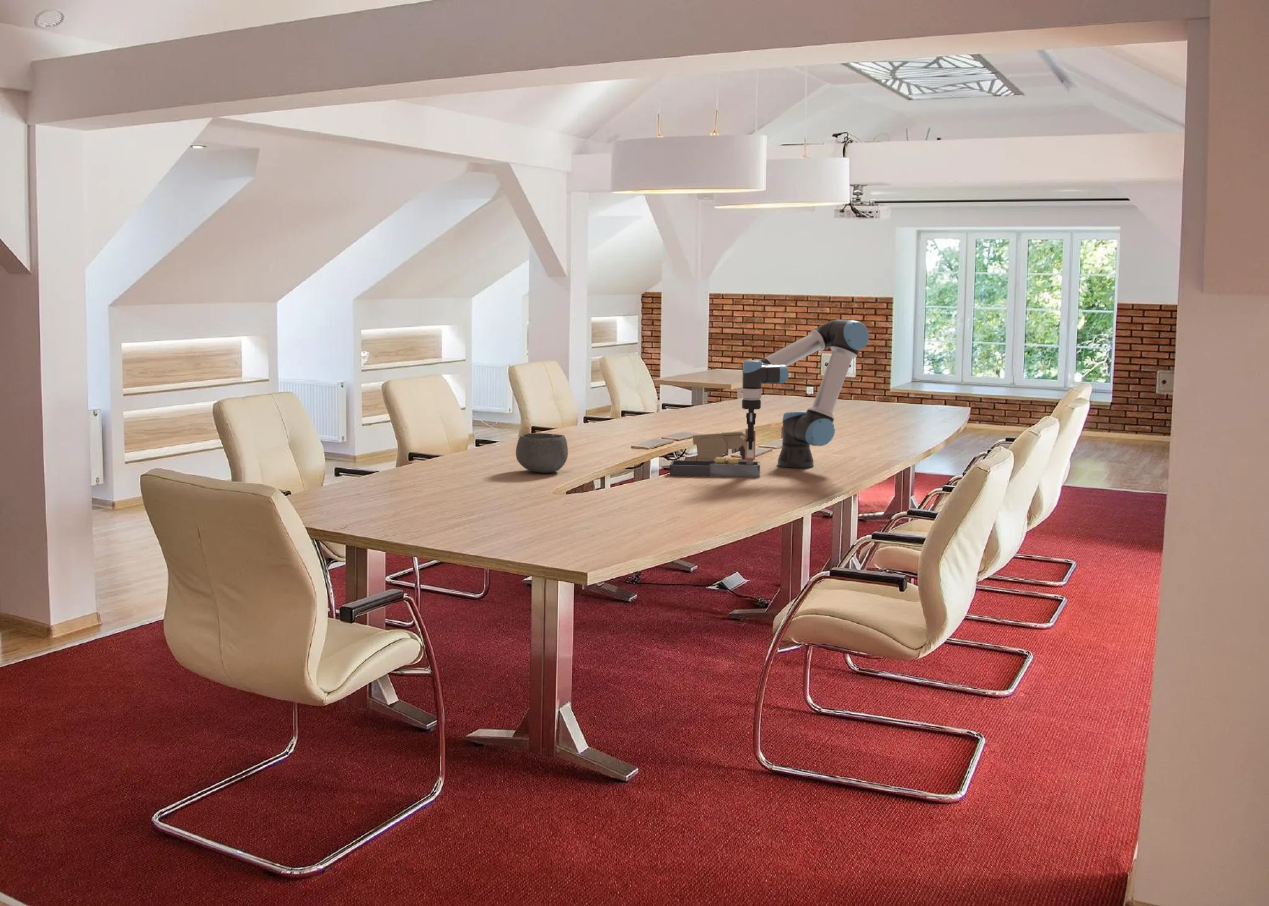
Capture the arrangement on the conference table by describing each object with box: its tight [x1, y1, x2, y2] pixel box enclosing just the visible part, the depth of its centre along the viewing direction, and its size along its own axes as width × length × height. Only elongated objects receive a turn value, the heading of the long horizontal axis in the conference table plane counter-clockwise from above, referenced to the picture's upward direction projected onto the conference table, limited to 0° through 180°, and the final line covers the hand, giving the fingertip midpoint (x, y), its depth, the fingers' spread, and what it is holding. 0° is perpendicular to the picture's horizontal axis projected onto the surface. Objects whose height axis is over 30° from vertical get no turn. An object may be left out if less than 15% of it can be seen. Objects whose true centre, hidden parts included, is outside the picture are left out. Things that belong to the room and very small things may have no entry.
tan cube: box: [726, 457, 738, 465], centre depth 492 cm, size 4×4×4 cm
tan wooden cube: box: [715, 456, 727, 464], centre depth 493 cm, size 4×4×4 cm
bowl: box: [515, 432, 569, 474], centre depth 494 cm, size 21×21×15 cm
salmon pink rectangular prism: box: [744, 428, 757, 465], centre depth 491 cm, size 4×7×16 cm, turn 174°
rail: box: [710, 460, 761, 478], centre depth 492 cm, size 20×10×5 cm, turn 84°
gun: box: [692, 430, 747, 461], centre depth 515 cm, size 24×3×15 cm, turn 84°
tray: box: [669, 459, 711, 478], centre depth 494 cm, size 16×14×4 cm
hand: (750, 456), depth 491 cm, fingers closed on salmon pink rectangular prism, 4 cm apart
